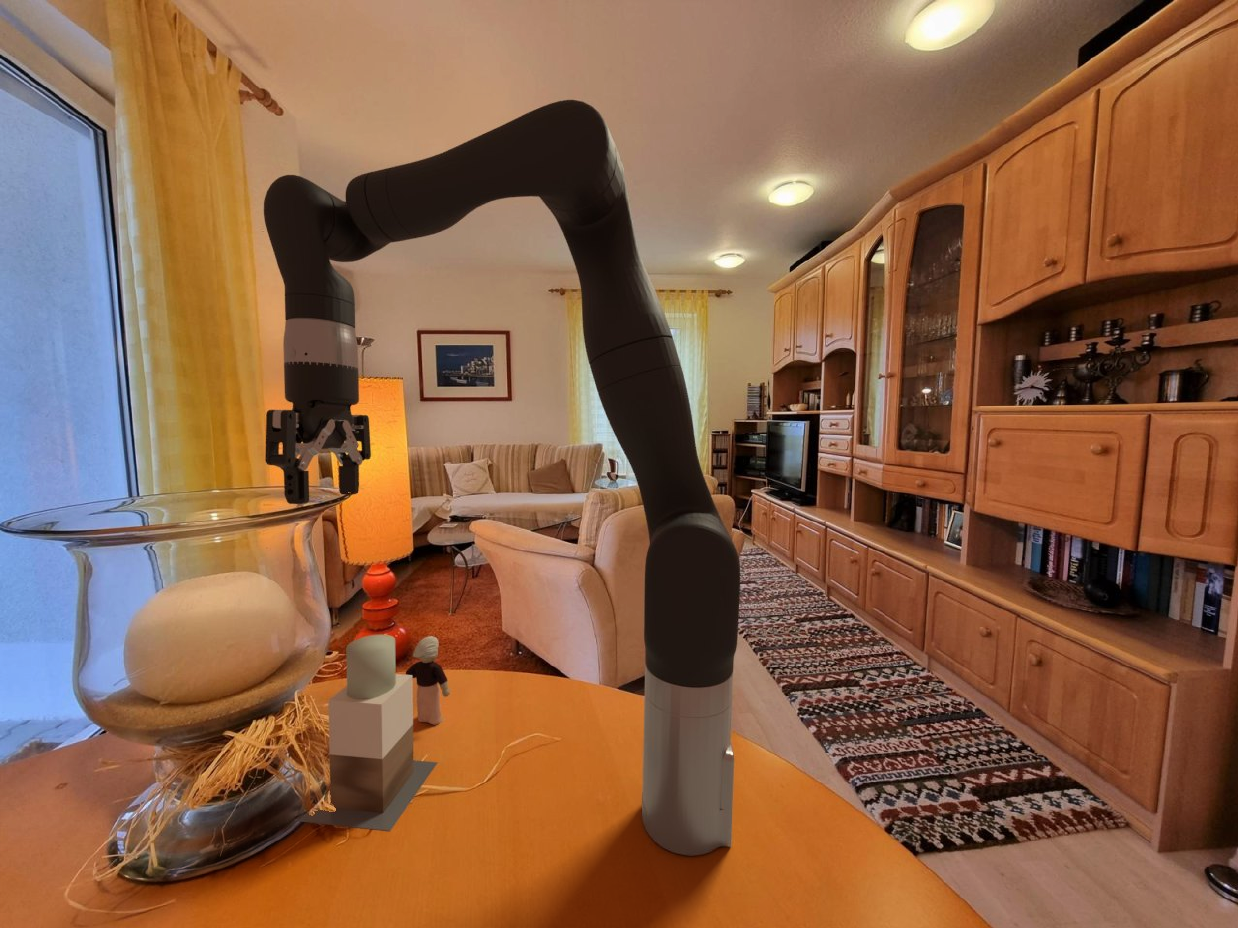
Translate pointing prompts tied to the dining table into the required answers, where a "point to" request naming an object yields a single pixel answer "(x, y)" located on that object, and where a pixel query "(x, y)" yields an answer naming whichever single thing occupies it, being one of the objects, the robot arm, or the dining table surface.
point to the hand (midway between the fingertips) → (325, 498)
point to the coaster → (374, 818)
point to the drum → (370, 666)
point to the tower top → (370, 721)
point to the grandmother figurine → (428, 681)
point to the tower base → (371, 777)
